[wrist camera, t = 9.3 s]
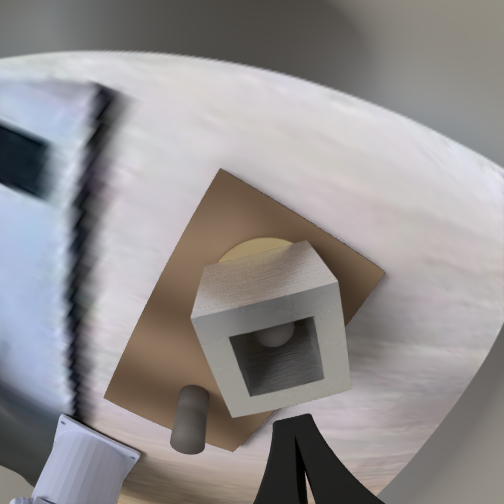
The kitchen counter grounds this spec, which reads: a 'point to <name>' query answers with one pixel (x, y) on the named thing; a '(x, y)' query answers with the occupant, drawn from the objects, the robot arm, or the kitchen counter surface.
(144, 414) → the board
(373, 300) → the kitchen counter surface
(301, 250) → the collar
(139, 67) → the kitchen counter surface
